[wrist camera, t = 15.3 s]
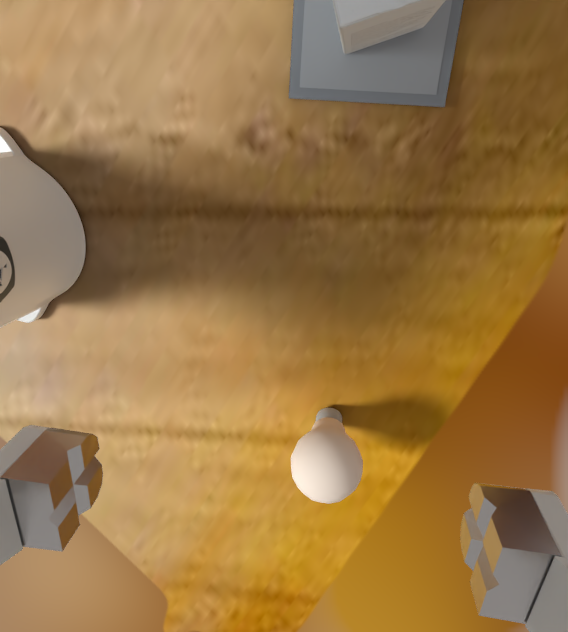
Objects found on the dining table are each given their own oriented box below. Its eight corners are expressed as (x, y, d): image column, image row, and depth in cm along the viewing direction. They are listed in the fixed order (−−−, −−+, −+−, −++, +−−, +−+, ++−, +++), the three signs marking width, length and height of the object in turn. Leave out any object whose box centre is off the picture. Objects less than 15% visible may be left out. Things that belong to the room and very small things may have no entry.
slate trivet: (289, 98, 37) (288, 98, 36) (300, -92, 32) (298, -97, 31) (442, 107, 36) (444, 107, 35) (477, -89, 31) (480, -94, 30)
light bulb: (321, 448, 51) (315, 530, 41) (286, 405, 49) (270, 480, 39) (373, 422, 49) (379, 502, 39) (337, 377, 47) (335, 448, 37)
